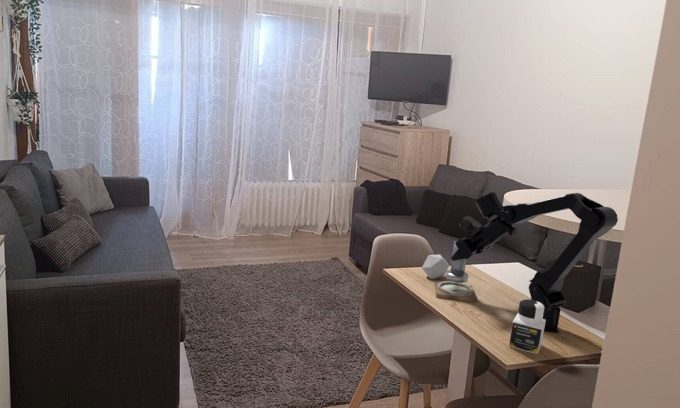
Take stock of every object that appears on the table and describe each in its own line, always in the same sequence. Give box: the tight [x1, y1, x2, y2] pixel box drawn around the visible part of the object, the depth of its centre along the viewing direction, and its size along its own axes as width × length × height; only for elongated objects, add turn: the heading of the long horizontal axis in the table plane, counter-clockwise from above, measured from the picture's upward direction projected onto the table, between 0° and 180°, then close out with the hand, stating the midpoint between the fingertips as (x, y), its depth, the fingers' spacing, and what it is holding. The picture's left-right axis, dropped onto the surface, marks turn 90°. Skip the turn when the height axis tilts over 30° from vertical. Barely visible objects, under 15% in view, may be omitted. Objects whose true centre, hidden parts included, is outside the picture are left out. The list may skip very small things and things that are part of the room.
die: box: [421, 253, 451, 280], centre depth 192 cm, size 8×9×10 cm
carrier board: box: [434, 280, 477, 303], centre depth 179 cm, size 12×12×2 cm
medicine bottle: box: [508, 299, 546, 355], centre depth 143 cm, size 7×7×12 cm
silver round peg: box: [445, 240, 469, 284], centre depth 177 cm, size 7×7×12 cm
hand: (455, 258), depth 177 cm, fingers closed on silver round peg, 4 cm apart
